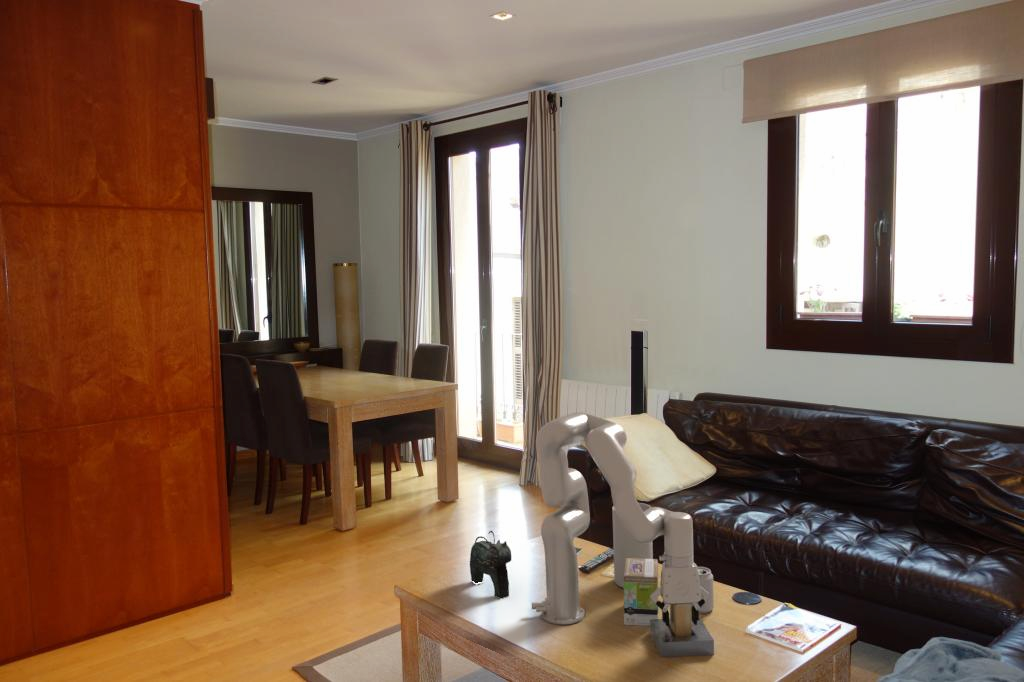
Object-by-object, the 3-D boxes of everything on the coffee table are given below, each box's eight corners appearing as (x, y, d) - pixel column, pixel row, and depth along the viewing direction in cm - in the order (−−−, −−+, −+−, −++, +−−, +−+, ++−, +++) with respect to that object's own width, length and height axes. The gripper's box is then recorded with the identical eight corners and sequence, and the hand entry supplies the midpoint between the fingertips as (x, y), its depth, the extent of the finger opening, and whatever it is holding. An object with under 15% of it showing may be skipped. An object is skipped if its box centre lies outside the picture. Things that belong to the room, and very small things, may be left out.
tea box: (659, 627, 222) (658, 576, 221) (623, 625, 224) (622, 575, 223) (659, 605, 237) (657, 557, 236) (625, 603, 239) (624, 556, 238)
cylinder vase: (659, 579, 256) (657, 505, 254) (644, 593, 246) (642, 515, 244) (624, 573, 263) (622, 500, 261) (608, 586, 253) (605, 510, 251)
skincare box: (669, 638, 215) (668, 595, 214) (685, 637, 215) (684, 594, 214) (676, 649, 209) (675, 605, 208) (692, 648, 209) (691, 604, 208)
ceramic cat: (515, 597, 247) (512, 535, 246) (497, 602, 244) (495, 539, 242) (481, 578, 264) (479, 520, 262) (465, 583, 260) (462, 524, 258)
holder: (660, 657, 205) (660, 642, 204) (650, 633, 219) (649, 619, 218) (714, 654, 205) (713, 640, 205) (699, 630, 219) (699, 616, 219)
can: (714, 615, 229) (713, 575, 228) (688, 613, 230) (687, 574, 229) (713, 604, 236) (712, 565, 235) (687, 603, 237) (686, 564, 237)
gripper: (649, 566, 206) (651, 631, 207) (715, 562, 206) (716, 628, 208) (644, 556, 214) (645, 619, 215) (707, 552, 214) (708, 616, 215)
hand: (680, 623), depth 211 cm, fingers open, 6 cm apart
